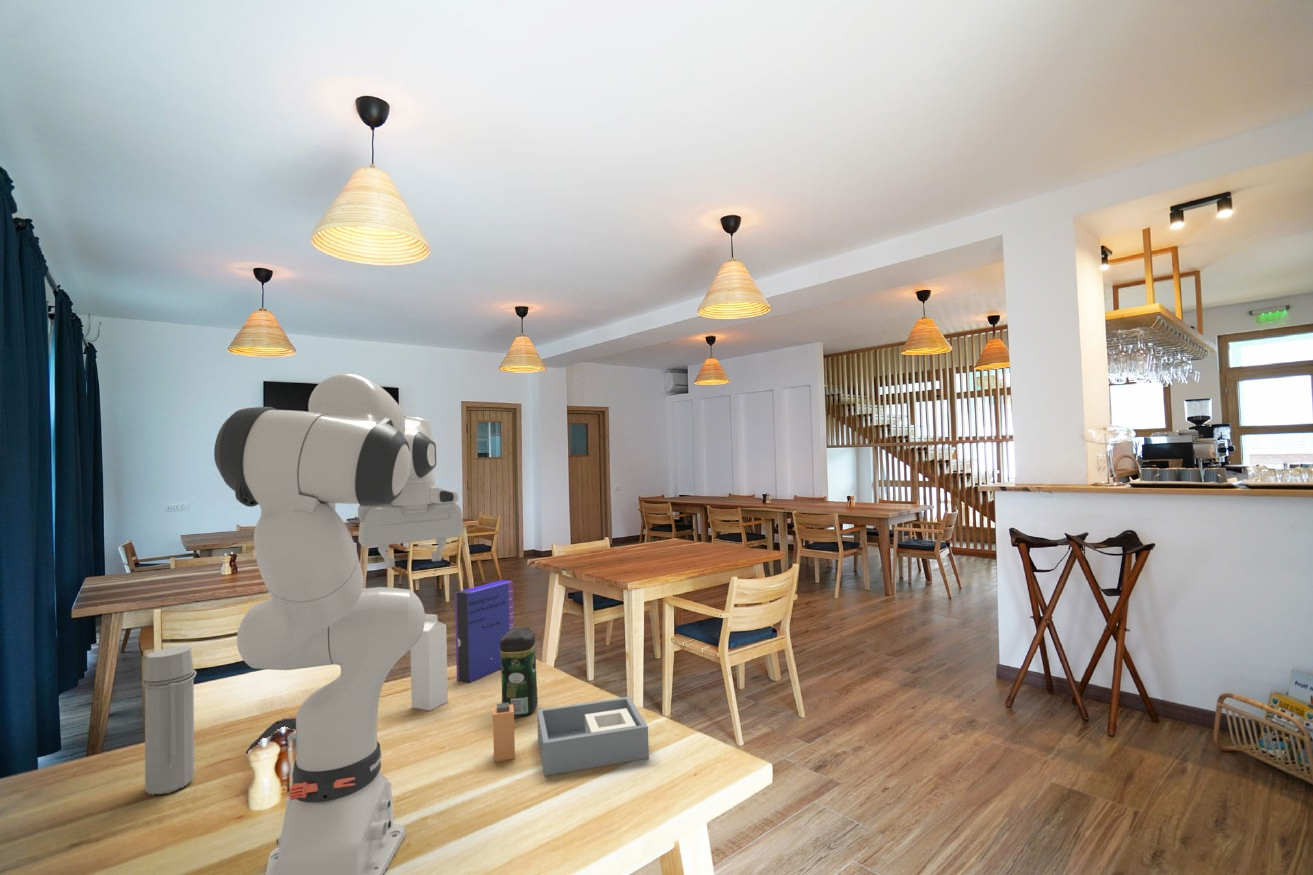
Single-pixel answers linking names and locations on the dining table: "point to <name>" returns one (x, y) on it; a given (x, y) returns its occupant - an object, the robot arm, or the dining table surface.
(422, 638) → the milk
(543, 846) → the dining table surface
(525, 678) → the coffee jar
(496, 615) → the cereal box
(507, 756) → the plug
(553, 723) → the bin
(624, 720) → the socket
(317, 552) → the robot arm
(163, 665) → the water bottle
